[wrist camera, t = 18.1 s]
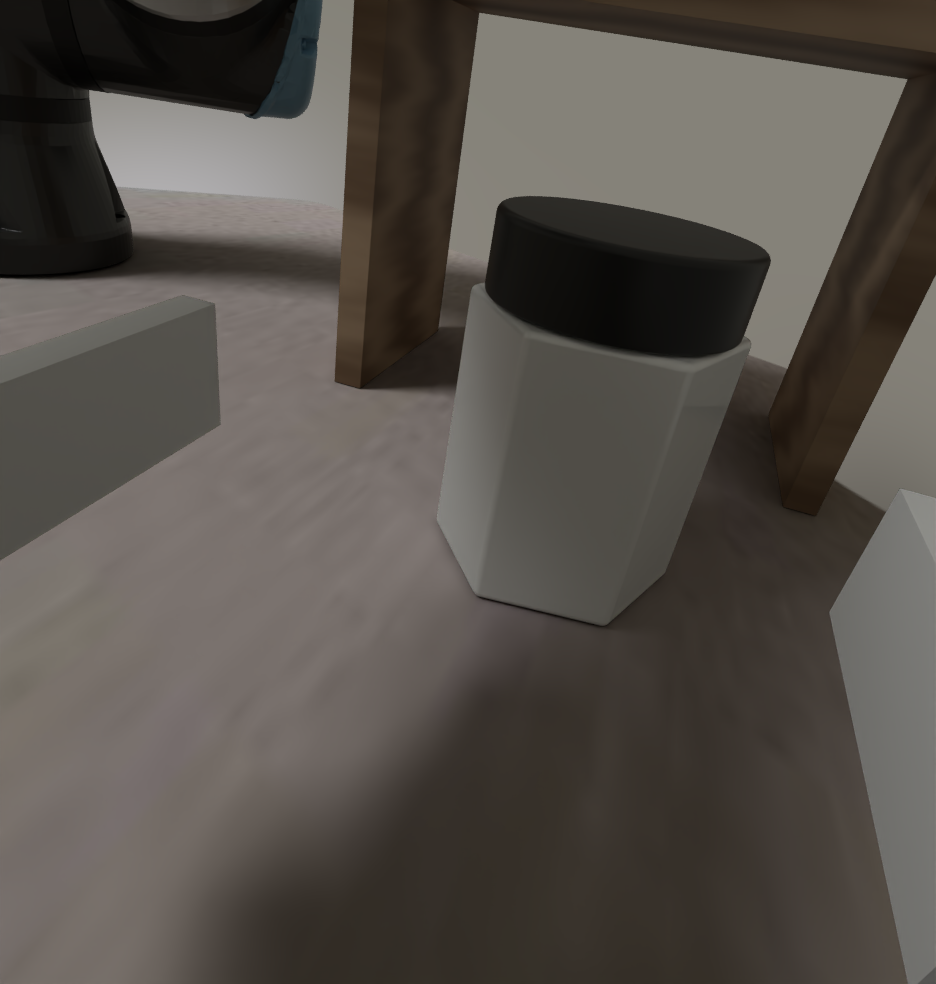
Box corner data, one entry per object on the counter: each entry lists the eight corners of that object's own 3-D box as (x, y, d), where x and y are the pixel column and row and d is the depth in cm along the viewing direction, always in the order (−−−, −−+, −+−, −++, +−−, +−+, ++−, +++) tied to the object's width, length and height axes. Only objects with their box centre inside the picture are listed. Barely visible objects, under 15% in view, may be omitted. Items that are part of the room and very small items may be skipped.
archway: (816, 515, 32) (1065, 13, 22) (334, 381, 37) (358, -80, 27) (793, 421, 42) (957, 47, 32) (417, 325, 47) (457, -26, 37)
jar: (657, 519, 29) (759, 230, 23) (671, 649, 23) (822, 285, 16) (456, 474, 30) (504, 182, 24) (409, 586, 23) (459, 215, 17)
